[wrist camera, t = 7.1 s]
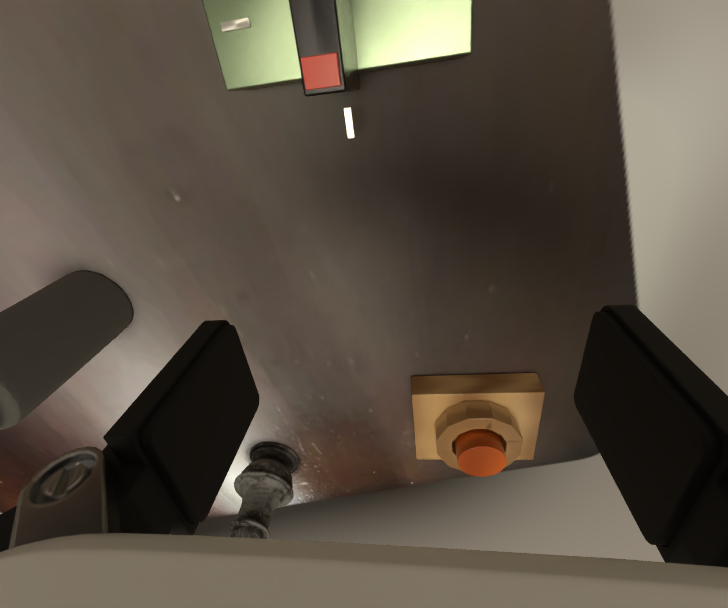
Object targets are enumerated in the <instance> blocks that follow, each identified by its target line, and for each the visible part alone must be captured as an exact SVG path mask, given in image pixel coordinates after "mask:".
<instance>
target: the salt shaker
mask: <svg viewBox="0 0 728 608" xmlns="http://www.w3.org/2000/svg"><path fill="white" fill-rule="evenodd" d="M250 459H251V461H252V463H250V464H249V465H248V466H247V467H246V468H245V469H244V470H243V471H242V473H241V474H240V475H239V476H238V477H237V478H236V479H235V482H234V487H235V490H236V492H237V493H238V494H239V496H240V497H241V498H243V499H242V505H241V508H240V511H239V513H238V516H237V518H236V520H235V521H233V522H232V523H231V524H230V531H231V533H232V534H231V536H230V537H237V538H257V539H268V538H269V531H268V526H269V523H270V520H271V517H272V514H273V512H274V510H275V508H278V507H282V506H285V505H287V504H288V503H290V502H291V500H292V498H293V490H292V476H291V474H290V473H292V472H294V471H295V470H296V469H297V468H298V466H299V459H298V456H297V455H296V453H295V452H294V451H293V450H291V449H290V448H288V447H286V446H284V445H282V444H279V443H274V442H263V443H259V444H257V445H255V446H254V447H253V448H252V449H251V452H250Z"/></svg>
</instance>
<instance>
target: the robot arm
mask: <svg viewBox="0 0 728 608" xmlns="http://www.w3.org/2000/svg"><path fill="white" fill-rule="evenodd" d="M574 401H575V405H576V408H577V410H578V412H579V414H580V415H581V417H582V419H583V421H584V423H585V425H586V427H587V429H588V431H589V433H590V435H591V437H592V438H593V440H594V442H595V444H596V446H597V448H598V450H599V452H600V454H601V456H602V458H603V459H604V461H605V463H606V465H607V467H608V469H609V471H610V473H611V475H612V477H613V479H614V481H615V483H616V485H617V486H618V488H619V490H620V492H621V494H622V496H623V498H624V500H625V502H626V504H627V506H628V508H629V509H630V511H631V513H632V515H633V517H634V519H635V521H636V523H637V525H638V526H639V528H640V531H641V532H642V534H643V536H644V538H645V539H646V540H647V541H648V543H650V544H652V545H656V546H657V548H658V550H659V552H660V554H661V556H662V557H663V559H664V561H665V563H664V562H651V561H638V560H625V559H612V558H595V557H578V556H562V555H545V554H529V553H512V552H496V551H479V550H462V549H444V548H426V547H408V546H391V545H372V544H354V543H336V542H317V541H297V540H277V539H257V538H237V537H217V536H197V535H193V534H194V532H195V530H196V528H197V526H198V524H199V522H202V521H204V520H205V519H206V517H207V515H208V513H209V511H210V509H211V507H212V505H213V503H214V501H215V498H216V496H217V494H218V492H219V490H220V488H221V486H222V483H223V481H224V479H225V477H226V475H227V473H228V471H229V469H230V466H231V464H232V462H233V460H234V458H235V456H236V454H237V451H238V449H239V447H240V445H241V443H242V441H243V439H244V436H245V434H246V432H247V430H248V428H249V426H250V424H251V421H252V419H253V417H254V415H255V413H256V411H257V409H258V406H259V394H258V391H257V388H256V385H255V382H254V379H253V377H252V374H251V371H250V368H249V365H248V362H247V359H246V356H245V354H244V351H243V348H242V345H241V342H240V339H239V336H238V333H237V331H236V328H235V327H234V326H233V325H230V324H229V322H228V321H226V320H215V321H204V322H203V323H202V324H201V325H200V326H199V327H198V329H197V330H196V331H195V332H194V333H193V334H192V336H191V337H190V338H189V339H188V340H187V341H186V342H185V344H184V345H183V346H182V347H181V348H180V349H179V350H178V352H177V353H176V354H175V355H174V356H173V357H172V359H171V360H170V361H169V362H168V363H167V364H166V365H165V367H164V368H163V369H162V370H161V371H160V372H159V373H158V375H157V376H156V377H155V378H154V379H153V380H152V382H151V383H150V384H149V385H148V386H147V387H146V388H145V390H144V391H143V392H142V393H141V394H140V395H139V396H138V398H137V399H136V400H135V401H134V402H133V403H132V405H131V406H130V407H129V408H128V409H127V410H126V411H125V413H124V414H123V415H122V416H121V417H120V418H119V419H118V421H117V422H116V423H115V424H114V425H113V426H112V428H111V429H110V430H109V431H108V432H107V433H106V434H105V436H104V437H103V438H104V439H105V441H106V442H107V444H108V445H107V446H106V447H105V448H104V449H103V451H101V450H100V449H98V448H97V447H89V446H87V447H81V448H76V449H74V450H71V451H68V452H66V453H64V454H62V455H60V456H58V457H56V458H54V459H53V460H51V461H50V462H48V463H47V464H46V465H44V466H43V467H41V468H40V469H39V470H38V471H37V472H36V473H35V474H34V475H33V476H32V477H31V478H30V479H29V480H28V482H27V483H26V484H25V486H24V487H23V488H22V491H21V493H20V496H19V498H18V503H17V506H16V507H14V508H12V509H10V510H8V511H6V512H4V513H3V514H1V515H0V608H728V396H727V395H726V394H725V393H724V392H723V391H722V390H721V389H720V388H719V387H718V386H717V385H716V384H715V383H714V382H713V381H712V380H711V379H710V378H709V377H708V376H707V375H706V374H705V373H704V372H703V371H701V370H700V369H699V368H698V367H697V366H696V365H695V364H694V363H693V362H692V361H691V360H690V359H689V358H688V357H687V356H686V355H685V354H684V353H683V352H682V351H681V350H680V349H679V348H678V347H677V346H676V345H675V344H674V343H673V342H672V341H671V340H669V338H667V337H666V336H665V335H664V334H663V333H662V332H661V331H660V330H659V329H658V328H657V327H656V326H655V325H654V324H653V323H652V322H651V321H650V320H649V319H648V318H647V317H646V316H645V315H644V314H643V313H642V312H641V311H640V310H639V309H638V308H637V307H635V306H634V305H611V306H604V307H603V308H602V309H601V311H600V312H596V313H595V314H594V315H593V318H592V322H591V326H590V330H589V334H588V339H587V343H586V347H585V351H584V355H583V359H582V363H581V367H580V371H579V376H578V380H577V384H576V388H575V392H574ZM169 533H170V534H171V535H169Z"/></svg>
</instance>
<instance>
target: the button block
mask: <svg viewBox="0 0 728 608" xmlns="http://www.w3.org/2000/svg"><path fill="white" fill-rule="evenodd" d="M411 386H412V405H413V418H414V430H415V443H416V455H417V459H442V460H443V461H444V462H445V463H446V464H447V465H448V466H450V467H453V468H456V469H458V470H461V469H460V468H459V466H458V463H457V455H456V448H455V441H456V438H457V437H458V435H459V434H461V433H464V432H467V431H469V430H472V429H488V430H491V431H494V432H496V433H497V434H498V435H499V436H500V438H501V440H502V444H503V448H504V452H505V455H506V459H507V462H506V466H505V467H507V466H509V465H510V464H511V463H512V462H513V461H514V460H533V458H534V452H535V447H536V441H537V435H538V429H539V423H540V418H541V412H542V406H543V400H544V394H545V392H544V389H543V387H542V385H541V383H540V380H539V378H538V376H537V374H536V373H513V374H477V375H441V376H412V377H411ZM461 471H462V470H461Z"/></svg>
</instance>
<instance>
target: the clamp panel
mask: <svg viewBox="0 0 728 608" xmlns="http://www.w3.org/2000/svg"><path fill="white" fill-rule="evenodd" d="M202 2H203V5H204V9H205V13H206V16H207V20H208V24H209V27H210V31H211V35H212V38H213V42H214V46H215V49H216V53H217V57H218V60H219V64H220V68H221V71H222V75H223V79H224V82H225V86H226V89H227V91H240V90H253V89H260V88H266V87H273V86H279V85H286V84H292V83H299V82H302V77H301V71H300V65H299V59H298V53H297V47H296V41H295V35H294V30H293V24H292V18H291V12H290V6H289V0H202ZM351 2H352V12H353V22H354V32H355V41H356V51H357V61H358V71H359V73H365V72H371V71H378V70H384V69H391V68H397V67H404V66H410V65H417V64H424V63H430V62H437V61H443V60H450V59H456V58H462V57H464V56H467V55H469V54H471V52H472V24H473V0H351ZM344 115H345V123H346V130H347V137H348V139H349V138H355V135H354V127H353V119H352V111H351V107H348V108H344Z"/></svg>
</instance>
